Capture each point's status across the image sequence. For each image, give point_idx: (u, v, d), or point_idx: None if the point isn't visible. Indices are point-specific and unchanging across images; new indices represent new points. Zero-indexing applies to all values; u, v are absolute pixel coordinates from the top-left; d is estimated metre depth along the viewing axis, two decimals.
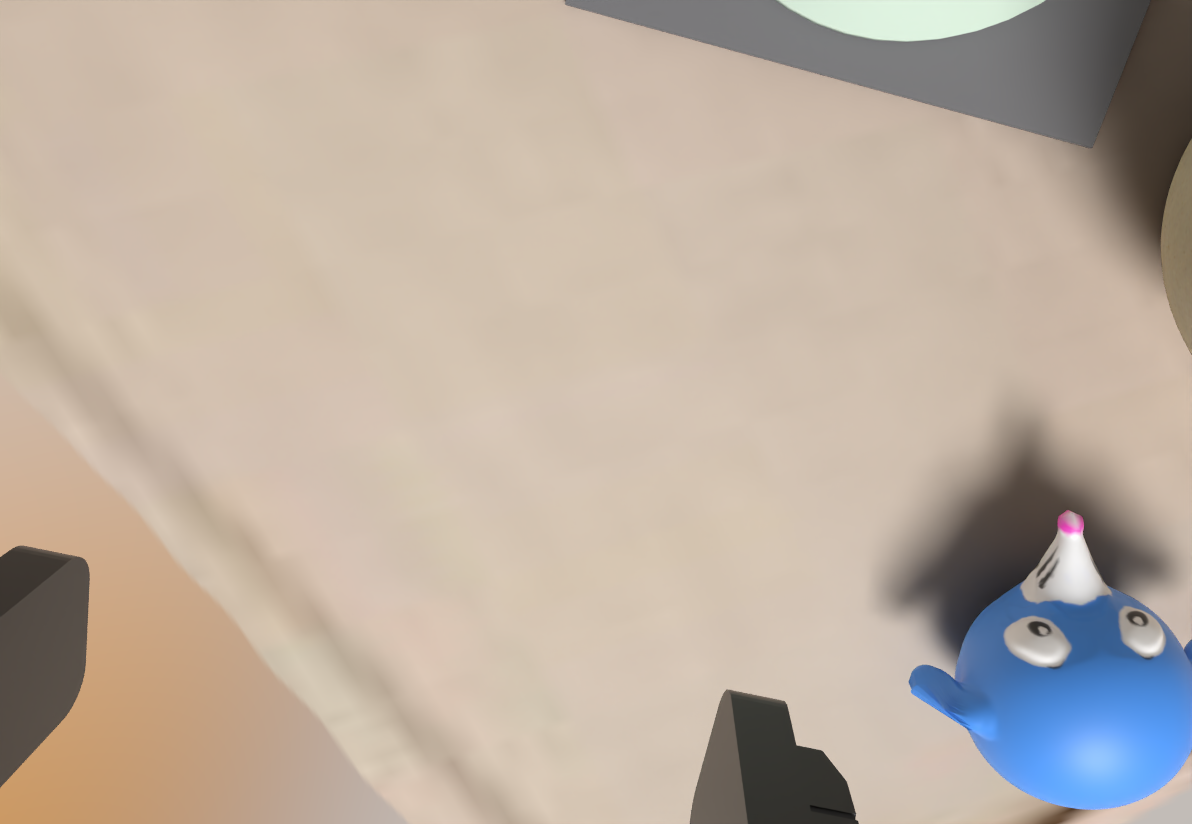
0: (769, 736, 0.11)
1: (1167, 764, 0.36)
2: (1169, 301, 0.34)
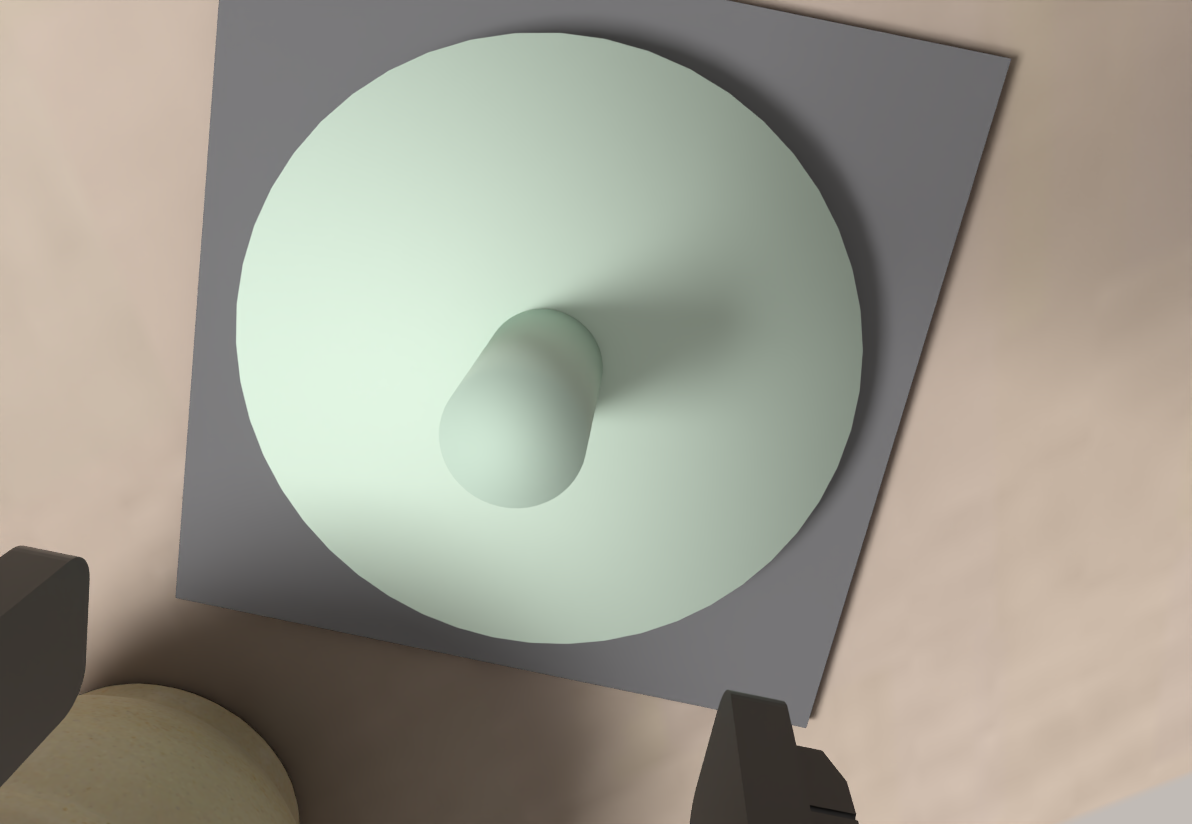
0: (769, 736, 0.11)
1: None
2: None
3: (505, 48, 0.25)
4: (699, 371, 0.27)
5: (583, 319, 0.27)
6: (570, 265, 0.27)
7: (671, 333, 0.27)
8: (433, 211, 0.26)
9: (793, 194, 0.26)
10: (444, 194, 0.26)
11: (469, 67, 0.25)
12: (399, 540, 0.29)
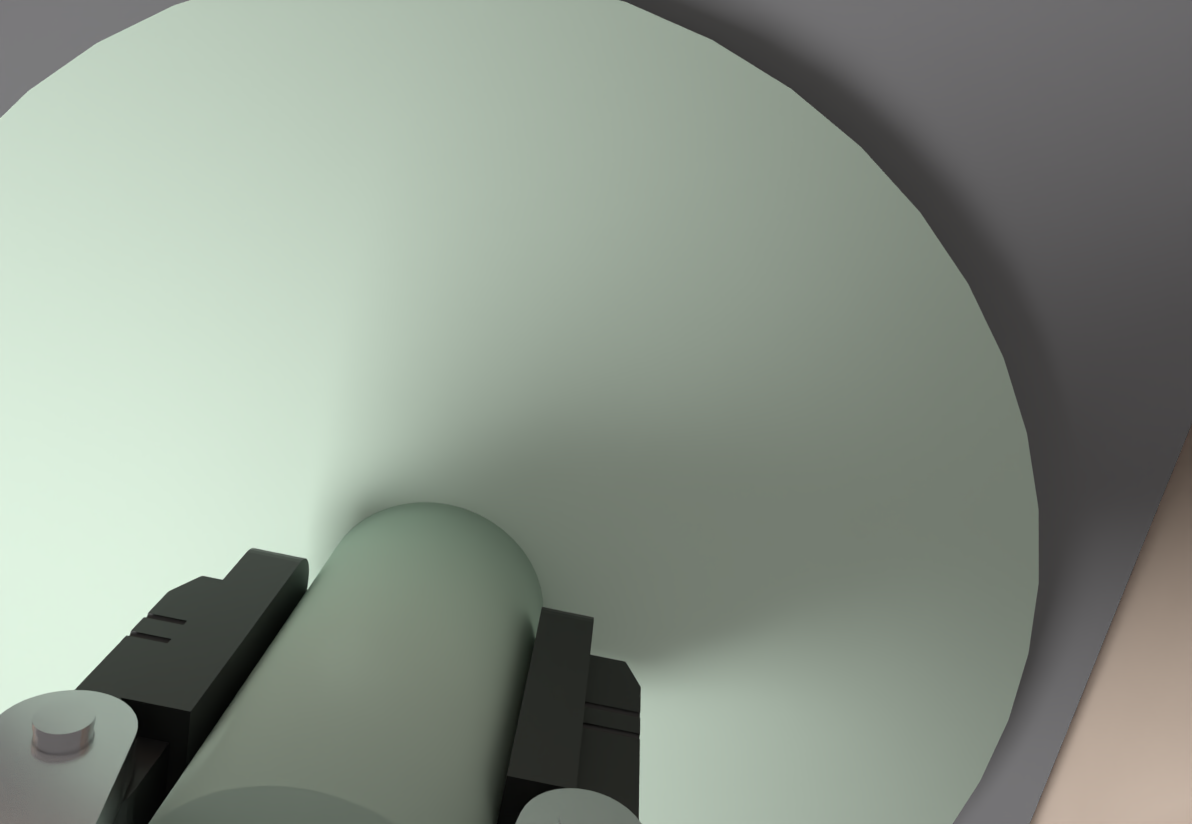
0: (566, 644, 0.12)
1: None
2: None
3: None
4: (725, 616, 0.14)
5: (504, 521, 0.14)
6: (477, 423, 0.14)
7: (672, 549, 0.14)
8: (207, 321, 0.13)
9: (916, 292, 0.13)
10: (225, 289, 0.13)
11: (259, 36, 0.12)
12: None
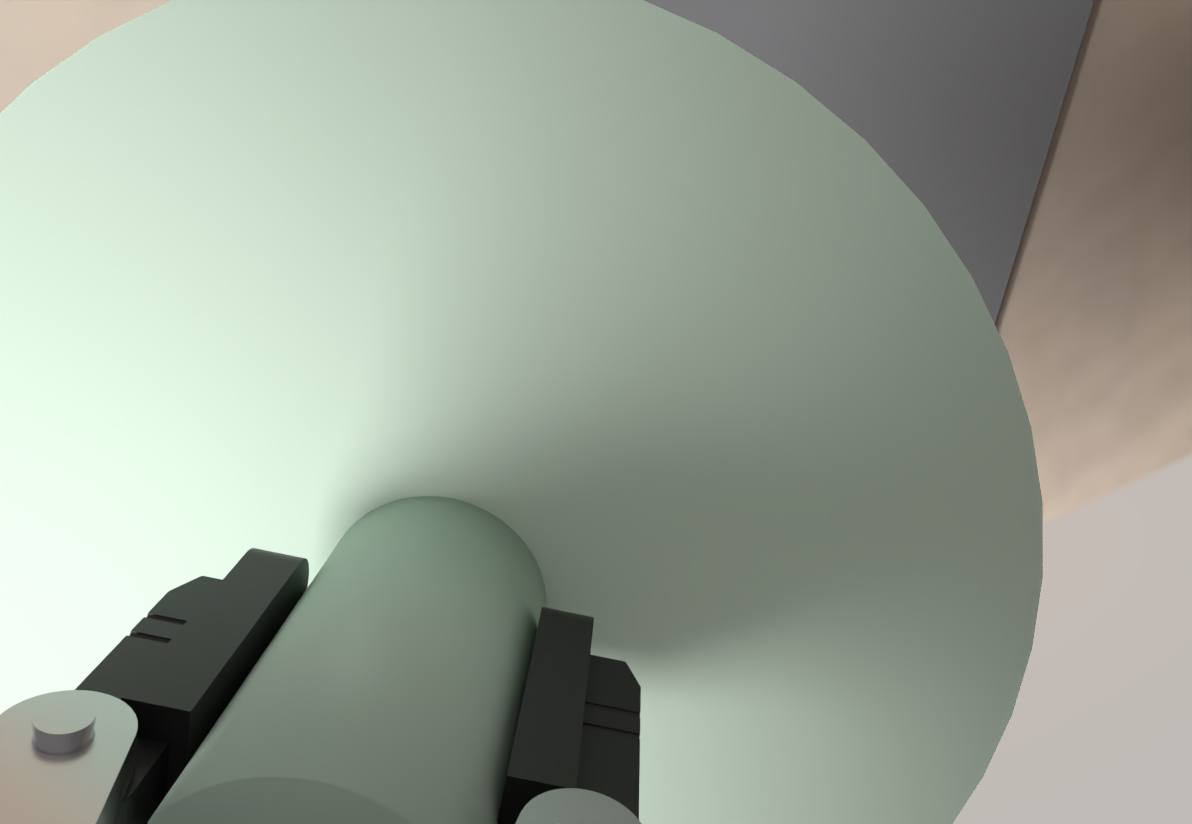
0: (566, 644, 0.12)
1: None
2: None
3: None
4: (728, 610, 0.14)
5: (507, 515, 0.14)
6: (480, 417, 0.14)
7: (676, 544, 0.14)
8: (209, 314, 0.13)
9: (920, 285, 0.13)
10: (228, 282, 0.13)
11: (262, 29, 0.12)
12: None
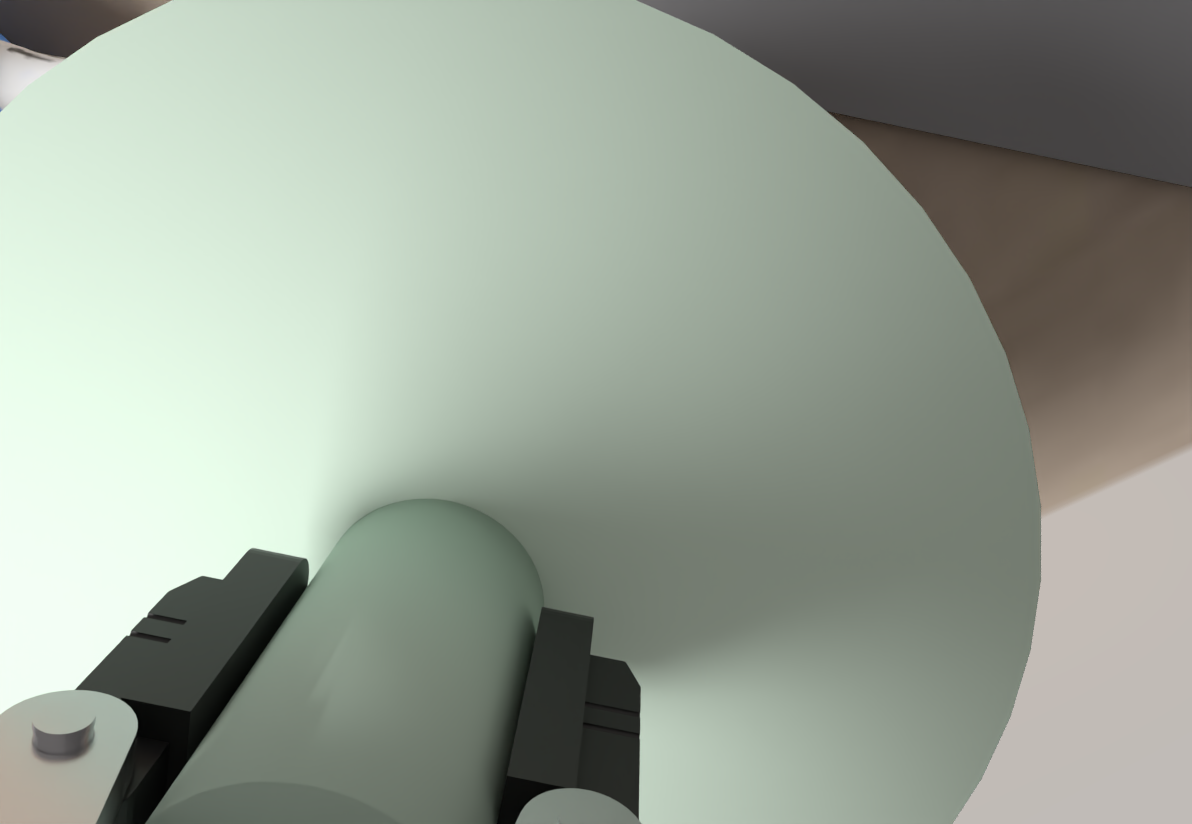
0: (567, 644, 0.12)
1: None
2: None
3: None
4: (726, 612, 0.14)
5: (505, 518, 0.14)
6: (477, 420, 0.14)
7: (673, 546, 0.14)
8: (207, 317, 0.13)
9: (918, 287, 0.13)
10: (225, 284, 0.13)
11: (259, 31, 0.12)
12: None
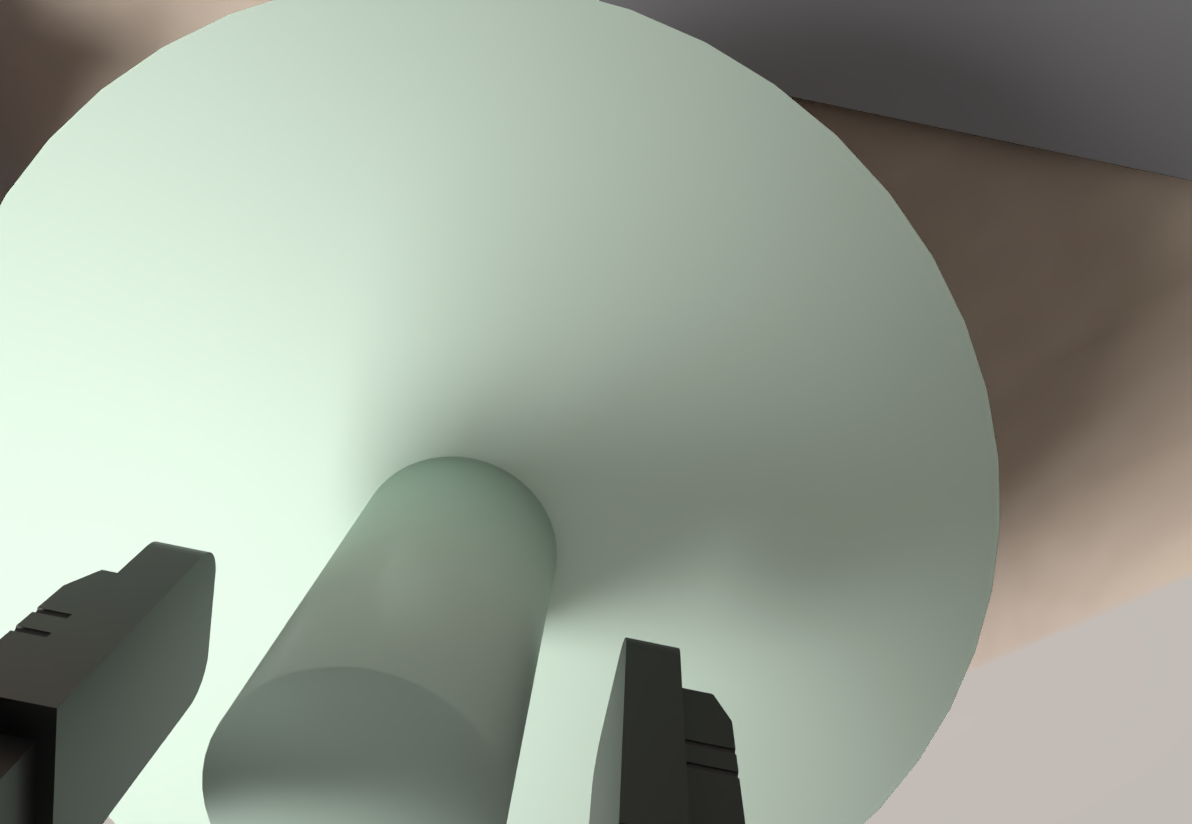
0: (657, 677, 0.12)
1: None
2: None
3: (371, 5, 0.14)
4: (720, 558, 0.16)
5: (522, 473, 0.16)
6: (497, 385, 0.15)
7: (673, 497, 0.16)
8: (257, 294, 0.15)
9: (887, 264, 0.15)
10: (274, 265, 0.15)
11: (306, 40, 0.14)
12: None
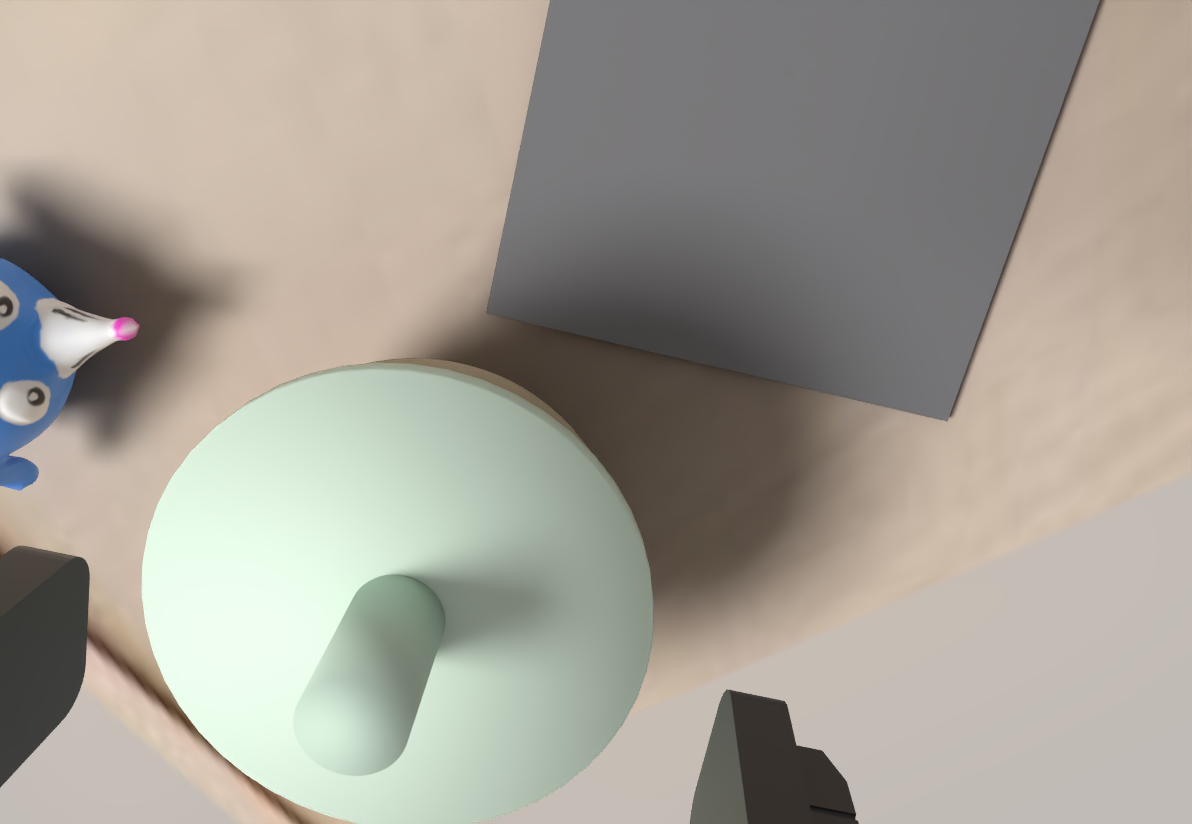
0: (769, 736, 0.11)
1: None
2: None
3: (362, 382, 0.31)
4: (523, 624, 0.34)
5: (429, 583, 0.33)
6: (417, 543, 0.33)
7: (500, 596, 0.33)
8: (305, 499, 0.32)
9: (595, 496, 0.32)
10: (314, 487, 0.32)
11: (333, 394, 0.31)
12: (279, 747, 0.35)
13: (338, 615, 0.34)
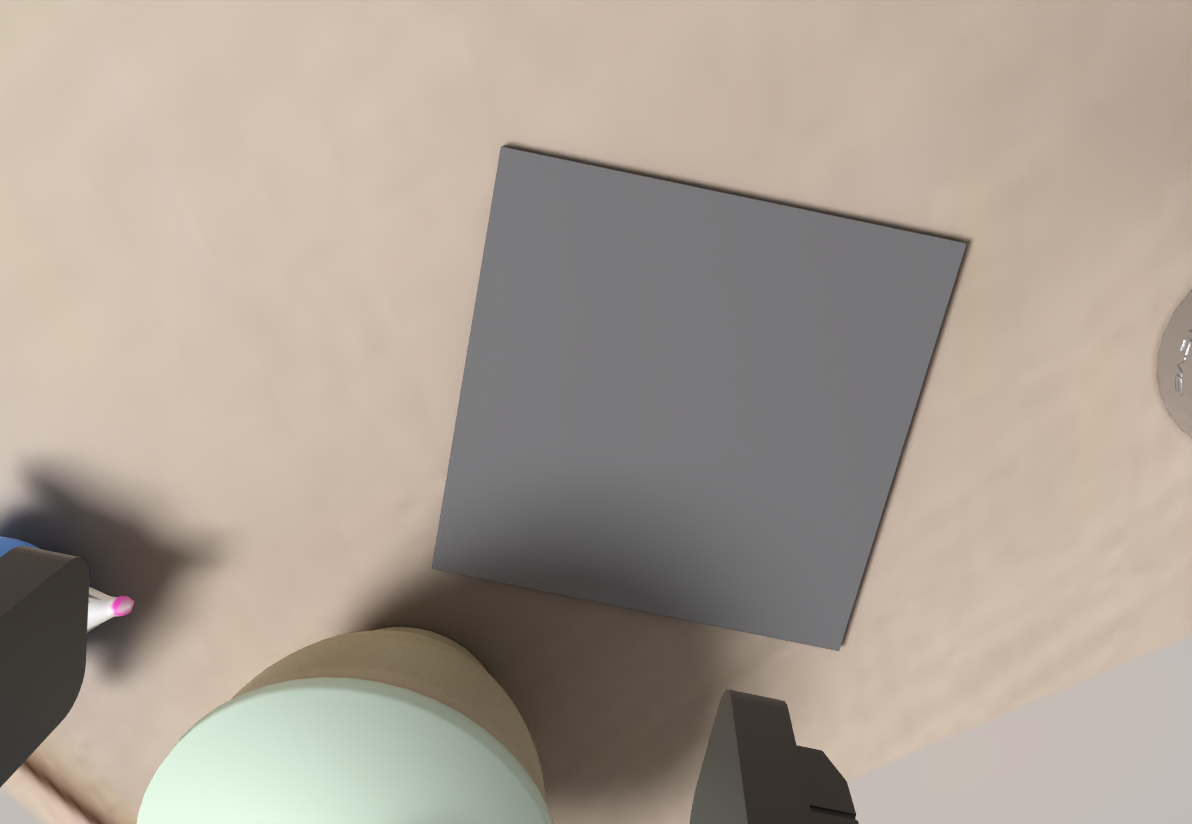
0: (769, 736, 0.11)
1: None
2: (304, 648, 0.44)
3: (308, 700, 0.38)
4: None
5: None
6: (359, 820, 0.39)
7: None
8: (266, 788, 0.39)
9: (503, 785, 0.39)
10: (272, 778, 0.39)
11: (284, 709, 0.38)
12: None
13: None
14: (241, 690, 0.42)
